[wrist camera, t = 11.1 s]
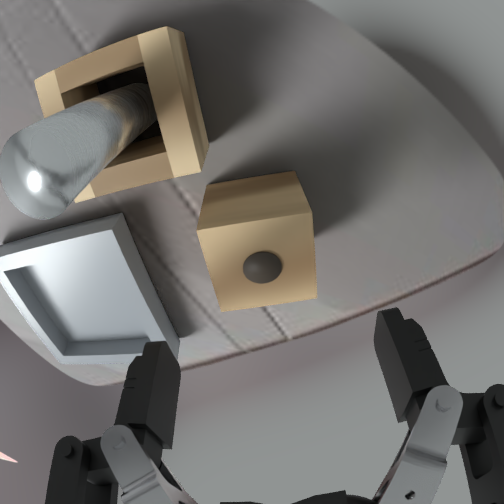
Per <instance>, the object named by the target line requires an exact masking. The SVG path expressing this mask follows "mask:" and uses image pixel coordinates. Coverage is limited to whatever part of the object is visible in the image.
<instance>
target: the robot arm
mask: <svg viewBox="0 0 504 504" xmlns="http://www.w3.org/2000/svg"><path fill="white" fill-rule="evenodd" d="M374 346H375V351H376V354H377V357H378V360H379V363H380V366H381V369H382V372H383V375H384V378H385V381H386V385H387V388H388V391H389V394H390V397H391V400H392V403H393V407H394V410H395V414H396V417H397V421H398V423H399V422H403V421H407V423H408V427H409V429H408V431H407V433H406V436H405V438H404V440H403V442H402V444H401V447H400V449H399V451H398V453H397V455H396V457H395V459H394V461H393V463H392V465H391V467H390V469H389V471H388V473H387V475H386V476H385V478H384V479H383V481H382V483H381V485H380V486H379V488H378V490H377V492H376V494H375V495H374V497H373V499H372V500H370V499H367V498H365V497H361V496H356V495H346V491H345V490H344V491H338V492H333V493H327V494H321V495H315V496H312V497H310V498H307V499H304V500H301V501H298V502H296V503H292V504H431V503H432V501H433V498H434V496H435V494H436V492H437V489H438V487H439V485H440V483H441V480H442V478H443V475H444V473H445V470H446V467H447V461H446V457H447V454H448V451H449V448H450V445H457V444H459V446H460V450H461V454H462V458H463V462H464V466H465V470H466V475H467V480H468V485H469V489H470V494H471V499H472V504H504V385H502V384H496V385H493V386H491V387H489V388H488V389H487V391H486V392H485V393H461V392H458V391H457V390H456V389H455V388H453V387H451V386H450V385H449V384H448V383H447V381H446V379H445V376H444V374H443V372H442V370H441V367H440V365H439V363H438V361H437V358H436V356H435V354H434V352H433V350H432V349H431V345H430V343H429V341H428V340H427V337H426V335H425V333H424V331H423V329H422V327H421V326H420V325H419V324H418V323H417V322H415V321H414V320H413V319H407V320H404V318H403V316H402V314H401V312H400V310H399V309H398V308H397V307H396V308H392V309H387V310H382V311H378V313H377V320H376V327H375V333H374ZM180 379H181V371H180V366H179V363H178V361H177V360H176V358H175V356H174V354H173V352H172V351H171V349H170V347H169V345H168V343H167V342H166V341H152V342H146V343H145V345H144V349H143V353H142V356H136V357H135V358H134V360H133V361H132V362H131V364H130V365H129V367H128V371H127V375H126V380H125V383H124V389H123V391H122V395H121V399H120V404H119V407H118V412H117V416H116V420H115V424H114V426H112V427H110V428H108V429H107V430H106V431H105V432H104V433H103V435H102V437H99V438H95V439H91V440H86V441H80V440H79V439H77V438H76V437H74V436H66V437H63V438H62V439H61V440H59V442H58V443H57V444H56V447H55V450H54V455H53V460H52V465H51V470H50V476H49V481H48V488H47V494H46V500H45V504H117V497H118V496H117V495H118V484H119V485H120V487H121V488H122V491H123V494H122V495H121V499H122V502H123V503H124V504H198V503H197V502H196V501H195V500H194V499H193V498H192V497H191V496H190V495H189V494H188V493H187V492H186V491H185V489H184V488H183V487H182V485H181V484H180V483H179V481H178V480H177V479H176V477H175V476H174V474H173V473H172V471H171V470H170V468H169V467H168V465H167V464H166V463H165V461H164V460H163V458H162V449H172V443H173V435H174V426H175V417H176V409H177V401H178V394H179V386H180ZM220 504H261V503H254V502H220Z"/></svg>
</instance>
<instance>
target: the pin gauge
mask: <svg viewBox="0 0 504 504" xmlns="http://www.w3.org/2000/svg"><path fill="white" fill-rule="evenodd" d="M156 119H157V114H156V110H155V107H154V103H153V99H152V95H151V91H150V87H149V85H148V84H145V83H133V84H130V85H127V86H124V87H121V88H118V89H115V90H112V91H110V92H107V93H104V94H101V95H99V96H96V97H93V98H91V99H88V100H86V101H83V102H81V103H78V104H76V105H74V106H71V107H69V108H67V109H64V110H62V111H60V112H57V113H55V114H53V115H51V116H49V117H47V118H44V119H42V120H40V121H38V122H36V123H34V124H32V125H30V126H28V127H26V128H24V129H22V130H20V131H19V132H17V133H15V134H14V135H13V136H12V137H10V138H9V140H8V141H7V142H6V144H5V146H4V148H3V150H2V153H1V157H0V178H1V182H2V186H3V188H4V191H5V193H6V195H7V196H8V198H9V199H10V201H11V202H12V203H13V205H14V206H15V207H16V208H17V209H19V210H20V211H21V212H22V213H24V214H26V215H27V216H30V217H32V218H36V219H42V220H44V219H51V218H54V217H56V216H58V215H60V214H61V213H62V212H63V211H64V210H65V209H66V208H67V207H68V206H69V205H70V204H71V202H72V201H73V200H74V199H75V198H76V197H77V196H78V195H79V194H80V193H81V192H82V190H83V189H84V188H85V187H86V186H87V185H88V184H89V183H90V182H91V181H92V180H93V179H94V178H95V177H96V176H97V175H98V174H99V173H100V172H101V171H102V170H103V169H104V168H105V167H106V166H107V165H108V164H109V163H110V162H111V161H112V160H113V159H114V158H115V157H116V156H117V155H118V154H119V153H120V152H121V151H122V150H124V149H125V148H126V147H127V146H128V145H129V144H130V143H131V142H132V141H133V140H134V139H136V138H137V137H138V136H139V135H140V134H141V133H142V132H143V131H145V130H146V129H147V128H148V127H149V126H150V125H151V124H153V123H154V122H155V121H156Z"/></svg>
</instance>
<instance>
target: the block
mask: <svg viewBox="0 0 504 504" xmlns="http://www.w3.org/2000/svg"><path fill="white" fill-rule="evenodd" d="M196 231H197V234H198V238H199V241H200V244H201V248H202V251H203V254H204V258H205V261H206V264H207V267H208V271H209V274H210V277H211V280H212V284H213V287H214V290H215V293H216V296H217V299H218V303H219V306H220V309H221V312H224V311H232V310H240V309H247V308H255V307H262V306H269V305H276V304H282V303H289V302H295V301H302V300H308V299H314V298H317V282H316V263H315V246H314V231H313V217H312V211H311V208H310V206H309V203H308V201H307V199H306V196H305V194H304V191H303V189H302V187H301V184H300V182H299V180H298V177H297V175H296V173H295V171H290V172H283V173H276V174H269V175H263V176H256V177H250V178H244V179H238V180H232V181H226V182H221V183H215V184H210V185H207V186H206V190H205V195H204V199H203V203H202V208H201V212H200V216H199V221H198V226H197V230H196Z"/></svg>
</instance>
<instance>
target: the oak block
mask: <svg viewBox="0 0 504 504" xmlns="http://www.w3.org/2000/svg"><path fill="white" fill-rule="evenodd" d="M142 66H144V67H145V71H146V75H147V79H148V83H149V87H150V91H151V95H152V99H153V103H154V107H155V110H156V114H157V118H158V122H159V126H160V129H161V133H162V135H160V136H156V137H152V138H148V139H145V140H141V141H138V142H134V143H131V144H129V145H128V146H127V147H126V148H125V149H124V150H122V151H121V152H120V153H119V154H118V155H117V156H116V157H115V158H114V159H113V160H112V161H111V162H110V163H109V164H108V165H107V166H106V167H105V168H104V169H103V170H102V171H101V172H100V173H99V174H98V175H97V176H96V177H95V178H94V179H93V180H92V181H91V182H90V183H89V184H88V185H87V186H86V187H85V188H84V189H83V190H82V192H81V193H80V194H79V195H78V196H77V197H76V198H75V199H74V201H75V203H77V202H81V201H84V200H88V199H91V198H95V197H98V196H102V195H106V194H109V193H113V192H117V191H121V190H125V189H129V188H133V187H137V186H141V185H145V184H149V183H153V182H157V181H162V180H166V179H170V178H175V177H180V176H184V175H189V174H194V173H198V172H201V171H202V167H203V164H204V161H205V158H206V155H207V151H208V148H209V142H208V138H207V134H206V129H205V125H204V121H203V116H202V112H201V108H200V103H199V99H198V95H197V90H196V86H195V81H194V77H193V72H192V68H191V63H190V59H189V54H188V50H187V45H186V40H185V36H184V32H181V31H179V30H176V29H173V28H170V27H168V26H165V27H161V28H158V29H155V30H151V31H148V32H145V33H142V34H139V35H136V36H133V37H130V38H127V39H125V40H122V41H119V42H116V43H114V44H111V45H109V46H106V47H103V48H101V49H99V50H96V51H94V52H91V53H89V54H87V55H84V56H82V57H80V58H78V59H75V60H73V61H71V62H69V63H67V64H65V65H63V66H61V67H59V68H57V69H55V70H53V71H51V72H49V73H47V74H45V75H43V76H41V77H39V78H38V79H36V80H34V82H35V86H36V90H37V94H38V97H39V101H40V104H41V108H42V111H43V115H44V118H47V117H49V116H51V115H53V114H55V113H57V112H60V111H62V110H64V109H67V108H69V107H71V106H74V105H76V104H78V103H81V102H83V101H86V100H88V99H91V98H93V97H96V96H99V95H100V94H99V90H98V87H97V82H99V81H102V80H105V79H107V78H110V77H113V76H116V75H118V74H121V73H124V72H127V71H130V70H133V69H136V68H139V67H142Z"/></svg>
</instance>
